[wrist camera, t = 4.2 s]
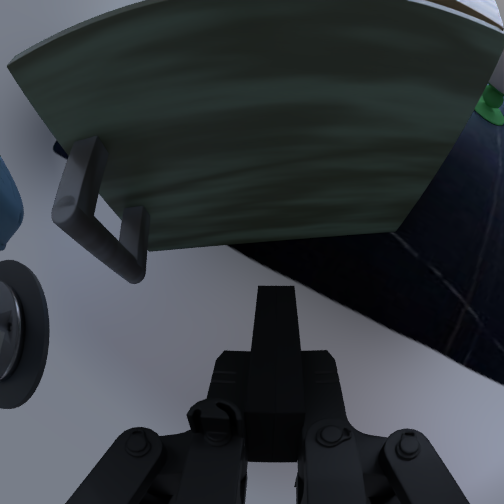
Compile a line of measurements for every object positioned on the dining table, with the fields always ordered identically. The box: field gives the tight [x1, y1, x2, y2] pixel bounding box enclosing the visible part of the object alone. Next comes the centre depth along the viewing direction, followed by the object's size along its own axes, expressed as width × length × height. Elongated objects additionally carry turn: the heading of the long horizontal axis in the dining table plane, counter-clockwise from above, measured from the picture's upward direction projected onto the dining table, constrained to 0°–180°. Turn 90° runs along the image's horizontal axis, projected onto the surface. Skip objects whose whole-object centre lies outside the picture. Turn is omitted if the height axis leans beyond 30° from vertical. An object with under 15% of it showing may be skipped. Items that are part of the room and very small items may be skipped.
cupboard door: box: [7, 0, 504, 284], centre depth 18 cm, size 7×26×24 cm, turn 93°
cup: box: [474, 50, 504, 125], centre depth 31 cm, size 14×14×16 cm
